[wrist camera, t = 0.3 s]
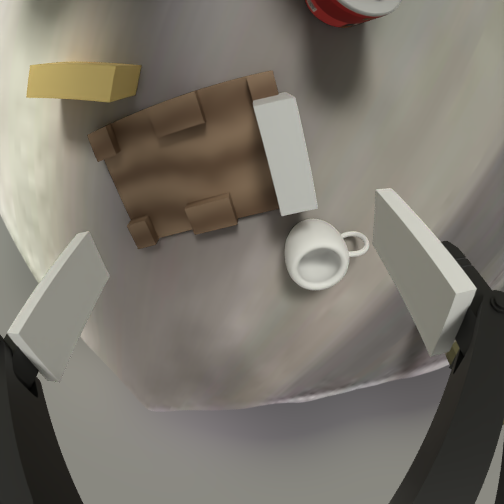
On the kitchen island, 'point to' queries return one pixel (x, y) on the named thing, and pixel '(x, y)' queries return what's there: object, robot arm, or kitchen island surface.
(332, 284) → the mug
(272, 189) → the comb rack
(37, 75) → the ochre bar
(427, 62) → the kitchen island surface
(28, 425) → the robot arm
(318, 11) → the canned food
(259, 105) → the grey bar
